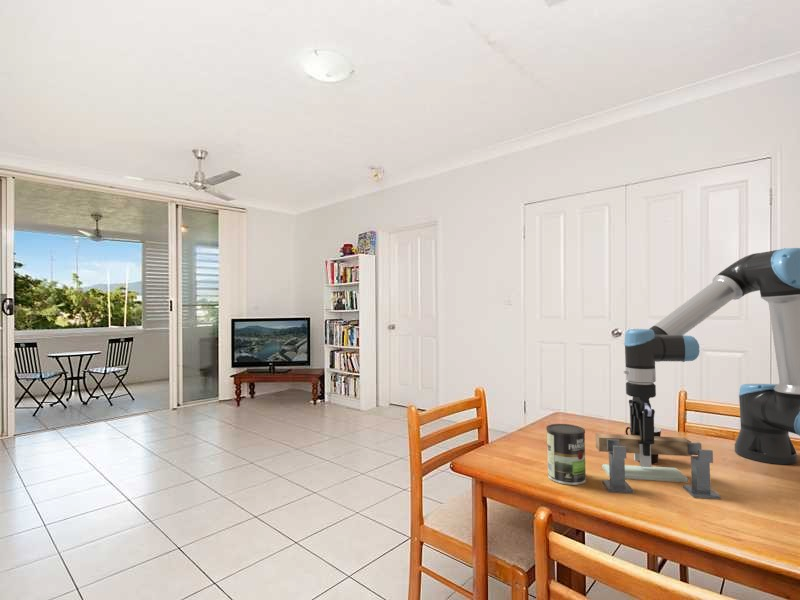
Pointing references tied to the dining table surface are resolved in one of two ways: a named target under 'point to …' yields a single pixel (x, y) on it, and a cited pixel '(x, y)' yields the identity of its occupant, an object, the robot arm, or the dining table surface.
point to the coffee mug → (656, 433)
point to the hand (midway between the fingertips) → (642, 463)
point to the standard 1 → (617, 468)
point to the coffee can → (566, 454)
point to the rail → (659, 447)
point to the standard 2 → (700, 472)
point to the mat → (651, 473)
